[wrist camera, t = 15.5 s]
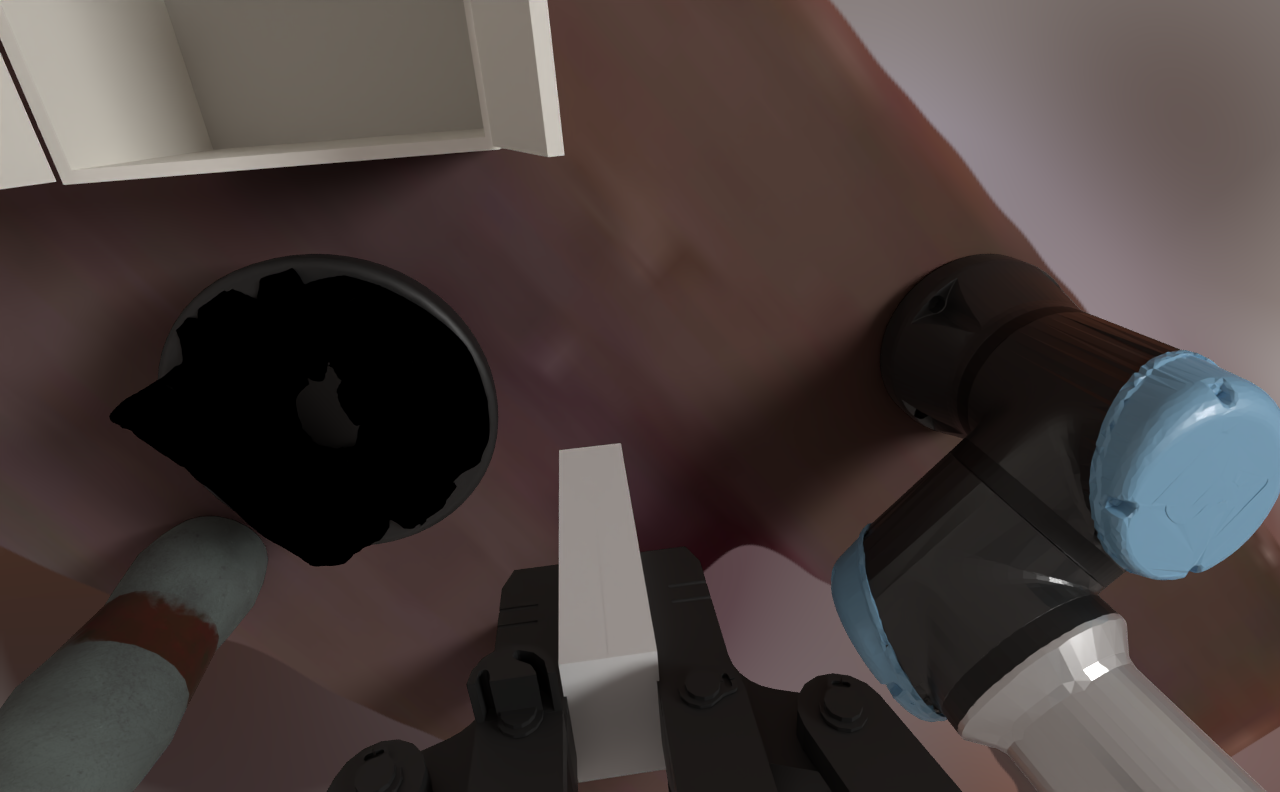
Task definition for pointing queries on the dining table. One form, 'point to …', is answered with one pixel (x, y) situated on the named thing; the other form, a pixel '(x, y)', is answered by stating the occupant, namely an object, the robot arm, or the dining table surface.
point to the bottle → (132, 664)
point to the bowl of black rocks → (323, 403)
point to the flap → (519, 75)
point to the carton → (244, 82)
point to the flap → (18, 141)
